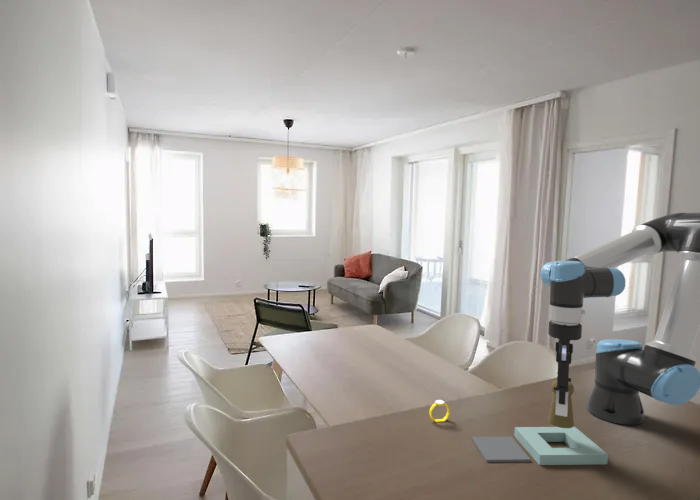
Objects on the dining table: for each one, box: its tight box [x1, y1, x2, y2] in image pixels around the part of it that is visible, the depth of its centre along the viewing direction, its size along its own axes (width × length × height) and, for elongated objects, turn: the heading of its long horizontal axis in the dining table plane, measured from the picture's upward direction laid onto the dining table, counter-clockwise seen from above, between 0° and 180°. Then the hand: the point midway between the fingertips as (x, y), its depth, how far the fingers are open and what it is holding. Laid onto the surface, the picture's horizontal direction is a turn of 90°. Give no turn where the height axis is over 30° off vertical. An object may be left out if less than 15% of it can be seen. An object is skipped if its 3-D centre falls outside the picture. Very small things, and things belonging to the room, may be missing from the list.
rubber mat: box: [471, 436, 532, 463], centre depth 110 cm, size 11×11×1 cm
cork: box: [547, 379, 575, 428], centre depth 110 cm, size 6×6×11 cm
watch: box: [428, 399, 451, 423], centre depth 126 cm, size 6×3×6 cm, turn 102°
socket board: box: [514, 426, 609, 466], centre depth 111 cm, size 17×14×2 cm
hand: (561, 410), depth 111 cm, fingers closed on cork, 5 cm apart
